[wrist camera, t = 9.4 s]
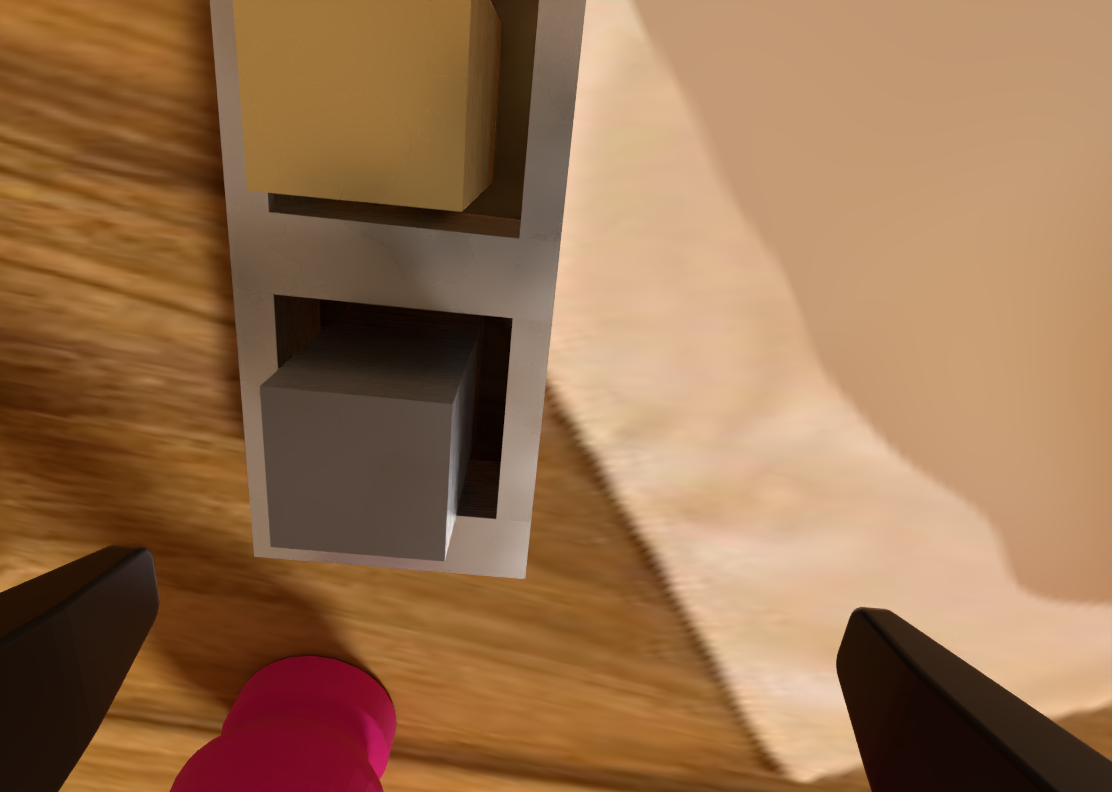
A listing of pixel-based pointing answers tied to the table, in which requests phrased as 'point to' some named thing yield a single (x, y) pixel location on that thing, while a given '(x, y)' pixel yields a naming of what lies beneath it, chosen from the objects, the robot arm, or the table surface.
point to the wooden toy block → (369, 98)
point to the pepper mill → (299, 733)
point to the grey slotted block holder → (395, 347)
